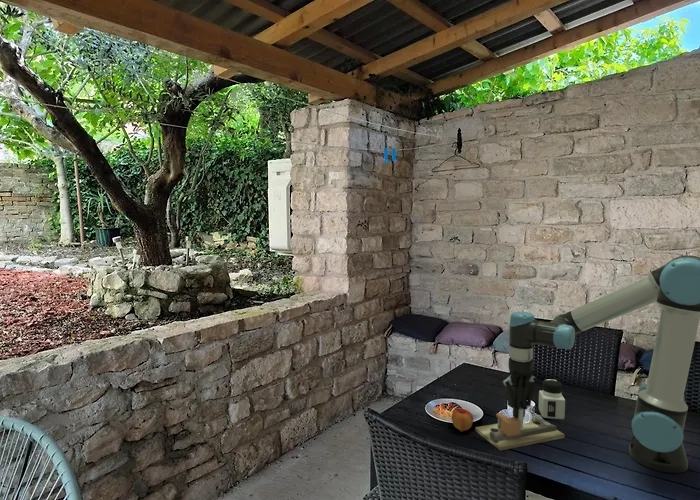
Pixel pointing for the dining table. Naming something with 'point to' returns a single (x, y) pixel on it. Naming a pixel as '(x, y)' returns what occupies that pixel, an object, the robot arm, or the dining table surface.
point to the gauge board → (521, 434)
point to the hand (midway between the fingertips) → (518, 426)
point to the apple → (462, 419)
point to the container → (552, 400)
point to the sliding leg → (508, 425)
